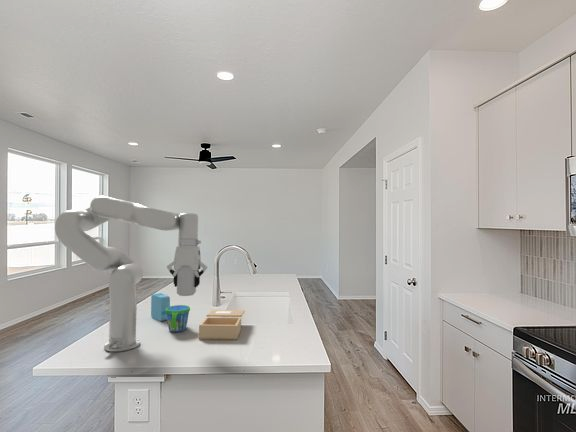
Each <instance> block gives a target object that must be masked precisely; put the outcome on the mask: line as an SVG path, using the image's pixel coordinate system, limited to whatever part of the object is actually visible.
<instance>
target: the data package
mask: <svg viewBox="0 0 576 432" xmlns="http://www.w3.org/2000/svg"><path fill="white" fill-rule="evenodd" d="M150 298H151V299H150V316H151V318H153V319H154V320H156V321H158V322H163V321H164V322H165V321H167V313H166V308H167V307H170V306H171V297H170V296H169V295H167V294H164V293H161V292H160V293H153V294H152V295H151V297H150Z"/></svg>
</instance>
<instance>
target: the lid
mask: <svg viewBox="0 0 576 432" xmlns="http://www.w3.org/2000/svg"><path fill="white" fill-rule="evenodd" d="M245 312H246V311H245V309H244V310H242V309H239V310H238V309H236V310H235V309H233V310H232V309H231V310H230V309H212V310H211V311H209V312H208V313H207V314H206V317H237V318H242V317H243V315H244V314H245Z"/></svg>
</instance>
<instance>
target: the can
mask: <svg viewBox="0 0 576 432" xmlns="http://www.w3.org/2000/svg"><path fill="white" fill-rule="evenodd" d="M180 267H181V268H179V269H178V272H177V286H176V294H177V295H178V296H180V297H191V296H194V295H195V293H196V292H197V287H195V277H196V275H195V271H193V269H191V268H190V267H191V266H180Z"/></svg>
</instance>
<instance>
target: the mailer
mask: <svg viewBox="0 0 576 432" xmlns="http://www.w3.org/2000/svg"><path fill="white" fill-rule="evenodd" d="M240 331H241V332H242V317H207V316H206V317H205V318H204V319H203V320H202V321H201V322H200V324H199V325H198V340H199V341H201V340H202V341H203V340H204V341H205V340H208V341H210V340H212V341H238V339H237V338H239V337H238V336H240V335H241V332H240Z"/></svg>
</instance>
